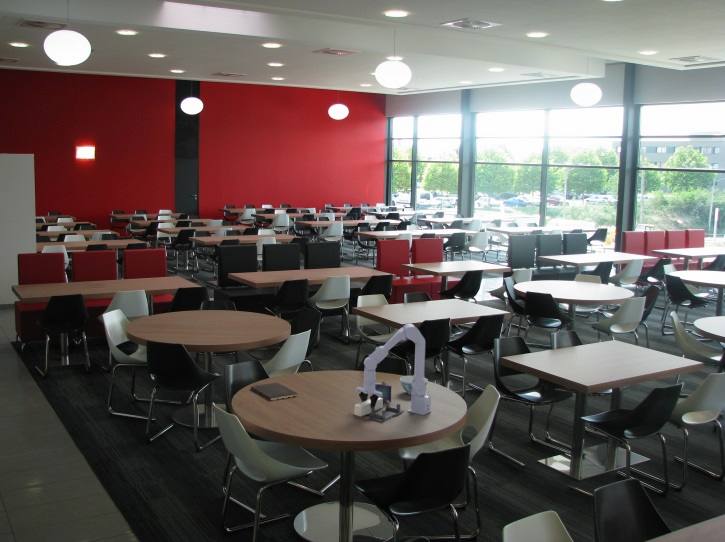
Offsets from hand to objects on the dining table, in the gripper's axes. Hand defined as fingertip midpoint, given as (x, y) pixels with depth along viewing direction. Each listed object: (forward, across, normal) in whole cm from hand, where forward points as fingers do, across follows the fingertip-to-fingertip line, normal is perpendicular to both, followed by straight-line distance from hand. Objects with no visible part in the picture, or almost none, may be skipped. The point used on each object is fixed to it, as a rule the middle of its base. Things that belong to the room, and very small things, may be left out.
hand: (368, 408), depth 361 cm
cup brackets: (+1, +10, 0) cm, 10 cm away
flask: (+2, -4, +18) cm, 19 cm away
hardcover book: (+2, -56, -8) cm, 56 cm away
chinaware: (+2, +1, +40) cm, 41 cm away
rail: (+2, 0, 0) cm, 2 cm away
